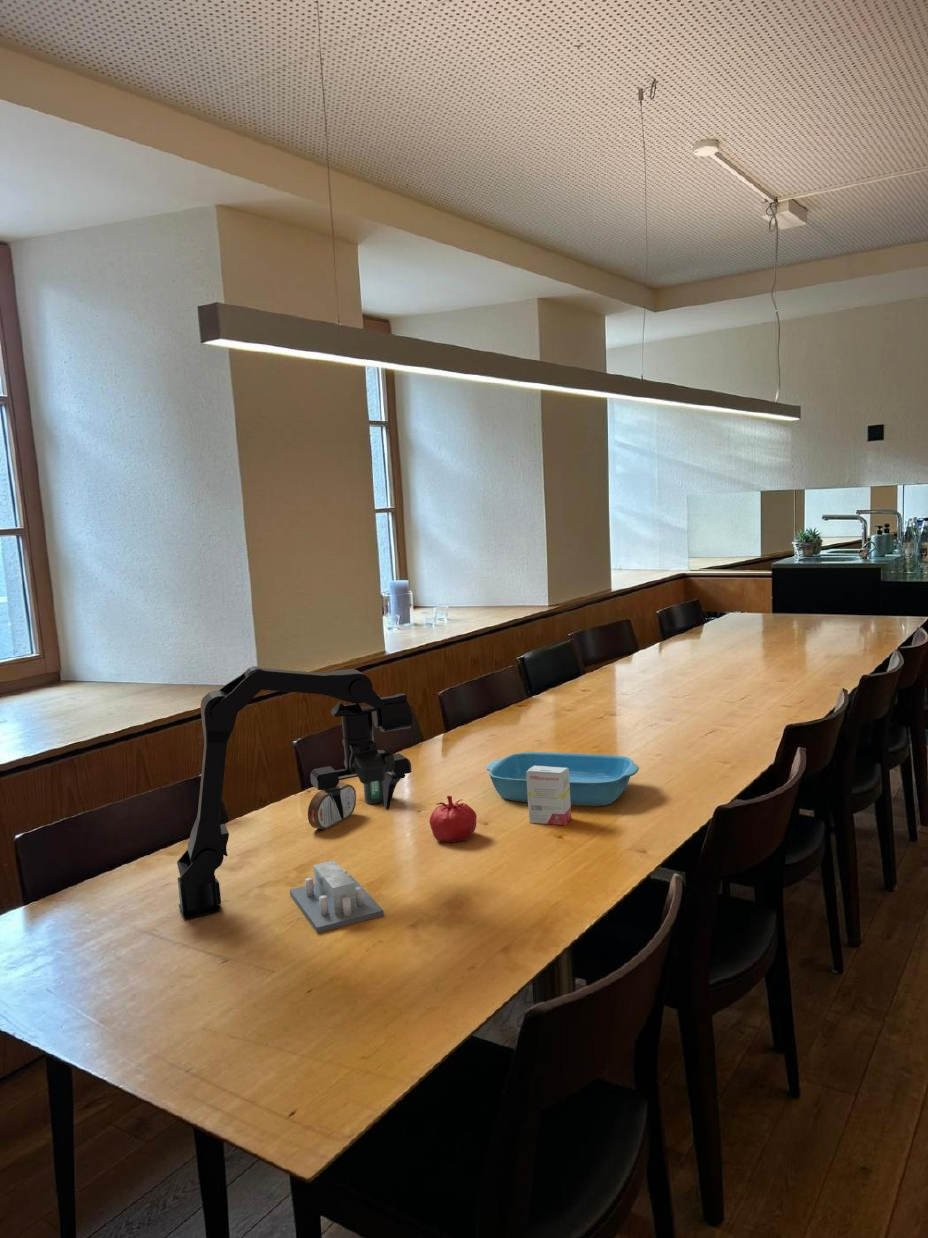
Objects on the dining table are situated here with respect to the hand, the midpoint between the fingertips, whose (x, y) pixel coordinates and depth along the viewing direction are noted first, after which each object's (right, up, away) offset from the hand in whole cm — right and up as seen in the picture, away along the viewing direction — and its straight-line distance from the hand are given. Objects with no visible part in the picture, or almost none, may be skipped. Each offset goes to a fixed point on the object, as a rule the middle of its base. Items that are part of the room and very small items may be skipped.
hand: (364, 814), depth 177 cm
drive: (-4, -13, -12) cm, 18 cm away
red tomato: (+17, -9, +18) cm, 26 cm away
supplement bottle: (-1, -7, +46) cm, 46 cm away
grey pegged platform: (-4, -14, -12) cm, 19 cm away
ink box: (+38, -7, +24) cm, 46 cm away
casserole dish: (+43, -4, +43) cm, 61 cm away
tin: (-10, -9, +32) cm, 34 cm away
